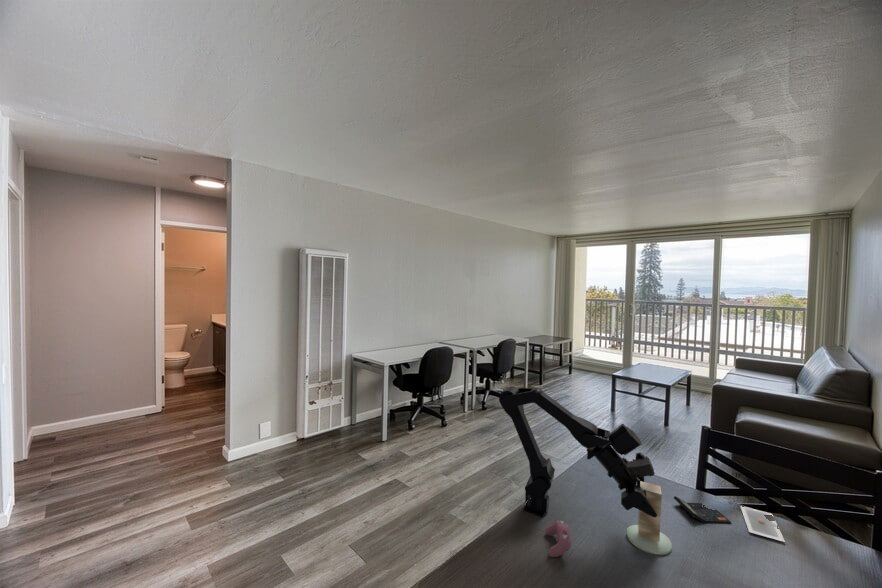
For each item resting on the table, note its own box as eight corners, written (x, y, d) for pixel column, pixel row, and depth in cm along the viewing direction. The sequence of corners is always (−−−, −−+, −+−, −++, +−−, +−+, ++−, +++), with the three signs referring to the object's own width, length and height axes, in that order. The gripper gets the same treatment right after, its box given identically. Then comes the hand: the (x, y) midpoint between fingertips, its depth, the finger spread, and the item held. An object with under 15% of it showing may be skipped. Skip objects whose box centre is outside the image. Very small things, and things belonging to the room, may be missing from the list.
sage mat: (624, 544, 101) (624, 541, 101) (628, 522, 110) (629, 520, 110) (671, 561, 95) (671, 558, 95) (671, 537, 104) (672, 534, 104)
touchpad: (748, 535, 106) (749, 528, 106) (740, 508, 119) (740, 502, 119) (785, 546, 102) (785, 538, 102) (771, 517, 115) (772, 510, 115)
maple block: (638, 535, 101) (640, 489, 101) (638, 525, 106) (640, 481, 105) (659, 541, 99) (661, 494, 99) (658, 531, 103) (660, 485, 103)
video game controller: (563, 565, 95) (576, 544, 94) (547, 555, 95) (560, 534, 94) (557, 539, 104) (570, 519, 103) (543, 530, 105) (555, 510, 104)
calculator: (731, 524, 110) (731, 514, 110) (692, 523, 111) (692, 513, 111) (708, 505, 120) (709, 496, 120) (673, 504, 120) (673, 495, 120)
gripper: (637, 462, 95) (685, 516, 90) (634, 435, 112) (675, 480, 107) (603, 483, 99) (648, 536, 94) (605, 455, 115) (643, 499, 111)
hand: (655, 511), depth 101 cm, fingers closed on maple block, 5 cm apart
